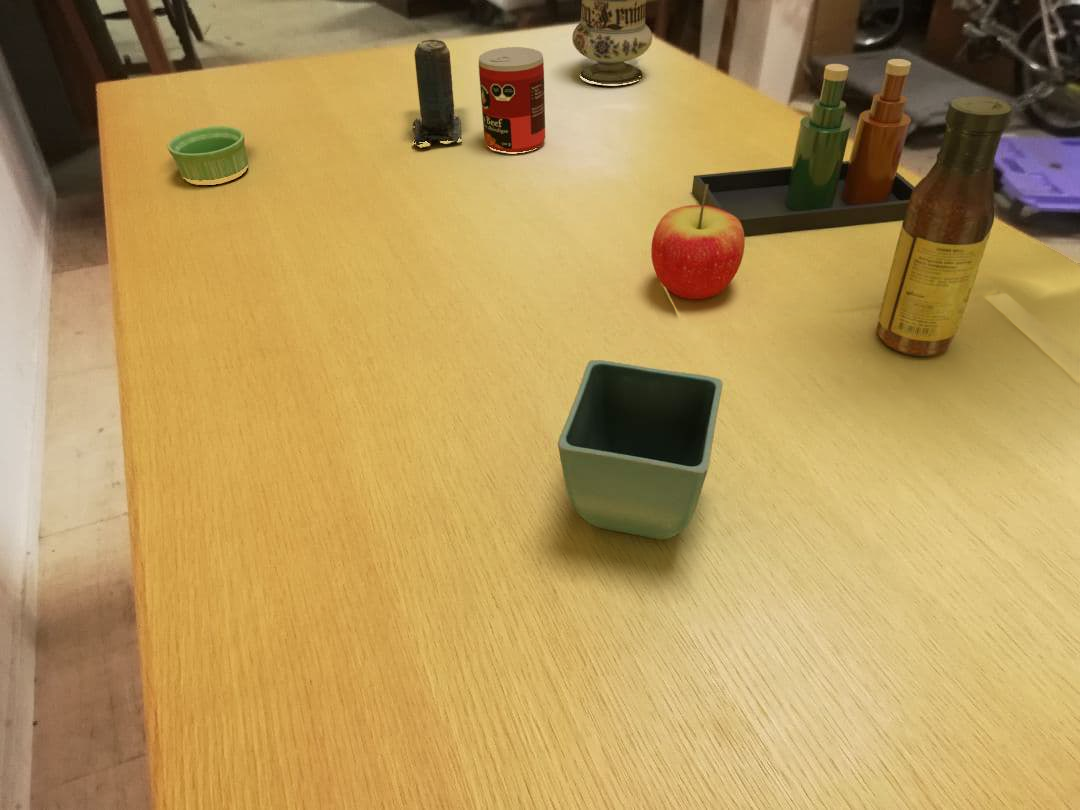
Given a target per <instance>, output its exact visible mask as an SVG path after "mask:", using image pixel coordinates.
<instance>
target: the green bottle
mask: <svg viewBox="0 0 1080 810" xmlns="http://www.w3.org/2000/svg"><path fill="white" fill-rule="evenodd" d="M849 70H850V68H849V66H847V65H845V64H841V63H829V64H827V65H825V67H824V72H823V83H822V88H821V93H820V96H819V98H817V99H815V100H814V101H813V102H812V106H811V111H810V115H806V116H803V117H802V118H801V120H800V121H799V127H798V132H797V137H796V143H795V148H794V153H793V158H792V163H791V164H792V165H791V166H792V169H791V174H790V180H789V185H788V190H787V196H786V201H785V202H786V205H787V206H788V207H789V208H790V209H792V210H794V211H804V210H814V209H824V208H832V206H833V202H834V198H835V193H836V189H837V185H838V180H839V176H840V171H841V167H842V163H843V161H844V158H845V154H846V149H847V146H848V145H847V144H848V140H849V137H850V132H851V127H852V124H851V122H850V120H848V119H846V118H844V117H845V112H846V107H847V104H846V103H847V102H845V101H843V100H842V96H843V93H844V87H845V83H846V80H847V78H848V75H849Z"/></svg>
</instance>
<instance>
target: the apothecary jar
mask: <svg viewBox="0 0 1080 810" xmlns="http://www.w3.org/2000/svg"><path fill="white" fill-rule="evenodd" d="M646 7H647V0H581V11H580V13H581V14H580V22H579V23H578V24H577V25H576V26H575V28H574V31H573V32H572V37H571V39H572V40H571V41H572V44H573V46H574V48H575V49H576V51H578V52H579V53H580V54H581V55H582V56H584V57H585V58H587V59H590V60H592V61H594V62H597V63H593V64H591V65H589V66H587V67H585V68H583V69H582V70H581V71H580V72H581V73H580V72H579V75H580V74H581V76H582V77H583V78H585V79H587V80H589V81H594V82H597V83H601V84H623V83H629V82H633V81H637V80H639V79H640V78H639V76H643V77H644V73H643V72H642V70H641V69H639V68H638V67H636V66H633V65H632V64H630V63H626V62H628V61H631V60H634V59H637V58H640V57H641V56H642V55H643V54H645V53H646V52H647V51H648V49H649V48H650V47H651V45H652V42H653V33H652V31H651V29H650V27H649V26H648V25H647V24H646V9H647V8H646Z"/></svg>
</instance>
